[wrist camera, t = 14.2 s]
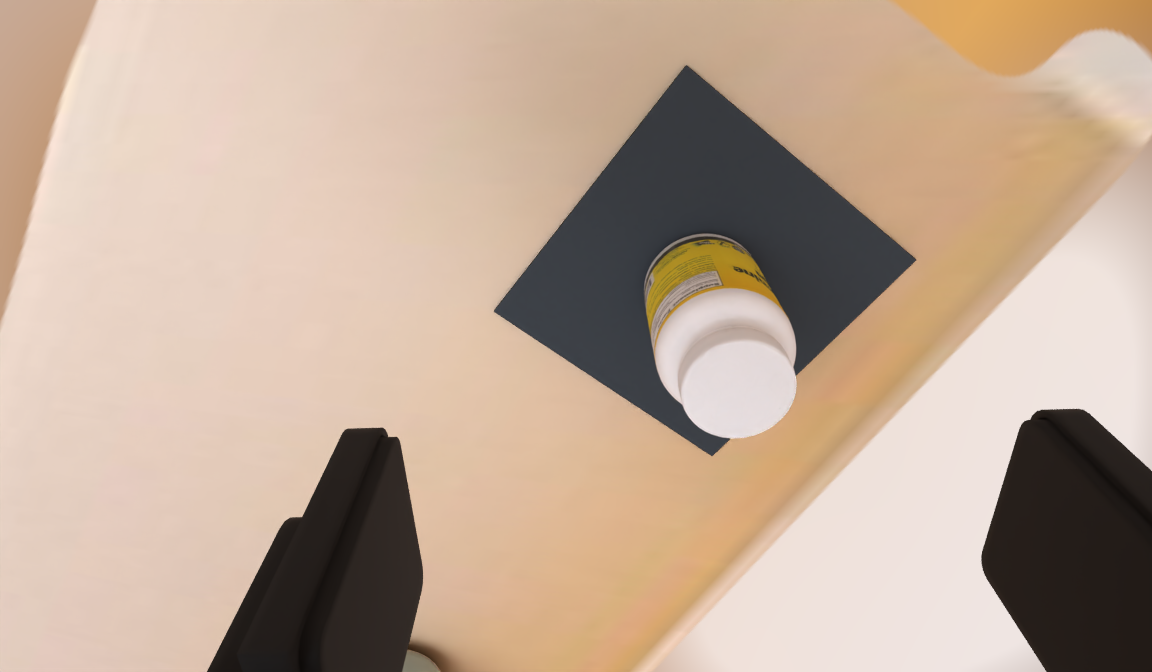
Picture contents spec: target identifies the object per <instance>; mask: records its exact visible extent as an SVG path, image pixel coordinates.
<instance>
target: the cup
mask: <svg viewBox="0 0 1152 672" xmlns="http://www.w3.org/2000/svg"><path fill="white" fill-rule="evenodd" d="M402 672H441V671H440V669H439V668H438V666H437V665H436V664H435V663H434V662H433V661H432V660H431V659H430V658H428V657H427V656H425V655H423V654H421V653H418V652H415V651H412V650H408V649H407V654H406V658H405V662H404V666H403V670H402Z"/></svg>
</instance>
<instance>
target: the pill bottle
mask: <svg viewBox="0 0 1152 672" xmlns="http://www.w3.org/2000/svg"><path fill="white" fill-rule="evenodd" d="M644 300H645V307H646V313H647V318H648V324H649V330H650V336H651V341H652V347H653V352H654V358H655V363H656V367H657V371H658V374H659V376H660V379H661V381H662V383H663V385H664V386H665V388H666V389H667V391H668V392H669V393H670V394H671V395H672V396H673V397H674V398H675V399H676V400H677V401H678V402H680V403H681V404H682V405H683V407H684V410H685V412H686V413H687V415H688V417H689V418H690V419H691V420H692V422H693V423H694V424H695V425H697V426H698V427H699V428H701V429H702V430H704V431H705V432H707V433H710V434H712V435H715V436H719V437H723V438H745V437H750V436H754V435H757V434H759V433H762V432H764V431H766V430H768V429H769V428H771V427H773V426H774V425H775V424H777V423H778V422H779V421H780V420H781V419H782V418H783V417H784V416H785V414H786V413H787V412H788V410H789V409H790V407H791V405H792V403H793V400H794V398H795V394H796V386H797V382H796V375H795V371H794V368H793V366H794V363H795V358H796V341H795V335H794V332H793V329H792V326H791V323H790V321H789V318H788V317H787V315H786V314H785V312H784V310H783V309H782V307H781V305H780V304H779V302H778V300H777V298H776V297H775V295H774V293H773V292H772V290H771V288H770V286H769V285H768V283H767V281H766V279H765V278H764V276H763V274H762V272H761V270H760V268H759V267H758V265H757V263H756V262H755V260H754V259H753V257H752V256H751V255H750V253H749V252H748V251H747V250H746V249H745V248H744V247H743V246H741V245H740V244H739V243H737V242H735V241H734V240H732V239H730V238H727V237H724V236H721V235H716V234H696V235H691V236H688V237H684V238H682V239H679V240H677V241H675V242H673V243H672V244H670V245H669V246H667V247H666V248H665V249H664V250H662V251H661V252H660V253H659V255H658V256H657V257H656V258H655V259H654V261H653V262H652V264H651V266H650V267H649V270H648V272H647V275H646V279H645V284H644Z"/></svg>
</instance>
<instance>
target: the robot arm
mask: <svg viewBox="0 0 1152 672" xmlns="http://www.w3.org/2000/svg"><path fill="white" fill-rule="evenodd" d="M982 567H983V571H984V574H985V576H986V578H987V580H988V581H989V583H990V584H991V586H992V588H993V589H994V591H995V592H996V594H997V595H998V597H999V598H1000V600H1001V601H1002V603H1003V605H1004V606H1005V608H1006V609H1007V611H1008V612H1009V614H1010V615H1011V617H1012V619H1013V620H1014V622H1015V623H1016V625H1017V626H1018V628H1019V629H1020V631H1021V632H1022V634H1023V636H1024V637H1025V639H1026V640H1027V642H1028V643H1029V645H1030V647H1031V648H1032V650H1033V651H1034V653H1035V654H1036V656H1037V657H1038V659H1039V660H1040V662H1041V663H1042V665H1043V667H1044V668H1045V670H1046V671H1047V672H1152V471H1151V470H1150V469H1149V468H1148V467H1147V466H1145V464H1143V463H1142V462H1141V461H1140V460H1139V459H1138V458H1137V457H1136V456H1135V455H1133V453H1131V452H1130V451H1129V450H1128V449H1127V448H1126V447H1125V446H1124V445H1123V444H1122V443H1121V442H1120V441H1118V440H1117V439H1116V438H1115V437H1114V436H1113V435H1112V434H1111V433H1110V432H1108V431H1107V430H1106V429H1105V428H1104V427H1103V426H1102V425H1101V424H1100V423H1099V422H1098V421H1097V420H1096V419H1095V418H1093V417H1092V416H1091V415H1090V414H1089V413H1087V412H1086V411H1084V410H1081V409H1059V410H1058V409H1057V410H1040V411H1037V412H1036V413H1035V414H1034V415H1033V416H1032V417H1031V420H1027V421H1024V422H1023V424H1022V425H1021V427H1020V429H1019V432H1018V436H1017V439H1016V442H1015V445H1014V449H1013V452H1012V456H1011V459H1010V462H1009V465H1008V468H1007V472H1006V475H1005V478H1004V482H1003V485H1002V488H1001V491H1000V495H999V498H998V502H997V505H996V508H995V512H994V515H993V518H992V521H991V524H990V528H989V531H988V534H987V538H986V541H985V545H984V547H983V551H982ZM422 584H423V567H422V561H421V555H420V550H419V544H418V539H417V533H416V528H415V522H414V516H413V511H412V505H411V500H410V494H409V489H408V483H407V478H406V472H405V466H404V461H403V455H402V450H401V445H400V441H399V439H398V438H397V437H388V435H387V432H386V430H385V429H384V428H357V429H346V430H345V431H344V432H343V433H342V435H341V437H340V439H339V442H338V444H337V446H336V448H335V450H334V452H333V454H332V456H331V458H330V460H329V462H328V465H327V467H326V469H325V471H324V473H323V475H322V477H321V479H320V481H319V483H318V485H317V487H316V490H315V492H314V494H313V496H312V498H311V500H310V502H309V504H308V506H307V508H306V510H305V513H304V515H303V517H293V518H289V519H288V520H286V521H285V522H284V523H283V525H282V526H281V528H280V529H279V531H278V533H277V535H276V537H275V539H274V541H273V543H272V545H271V547H270V549H269V551H268V553H267V555H266V557H265V559H264V561H263V563H262V565H261V567H260V569H259V570H258V572H257V574H256V576H255V578H254V580H253V582H252V584H251V586H250V588H249V590H248V592H247V594H246V596H245V598H244V600H243V602H242V604H241V606H240V608H239V610H238V612H237V614H236V616H235V618H234V620H233V622H232V624H231V626H230V628H229V630H228V631H227V633H226V635H225V637H224V639H223V641H222V643H221V645H220V647H219V649H218V651H217V653H216V655H215V657H214V659H213V661H212V663H211V665H210V667H209V669H208V671H207V672H402V670H403V666H404V662H405V658H406V654H407V649H408V645H409V641H410V637H411V633H412V629H413V625H414V620H415V616H416V612H417V608H418V604H419V600H420V595H421V591H422Z"/></svg>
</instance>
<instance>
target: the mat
mask: <svg viewBox="0 0 1152 672" xmlns="http://www.w3.org/2000/svg"><path fill="white" fill-rule="evenodd" d="M696 234H716V235H721V236H724V237H727V238H730V239H732V240H734V241H735V242H737V243H739V244H740V245H741V246H743V247H744V248H745V249H746V250H747V251H748V252H749V253H750V255H751V256H752V257H753V259H754V260H755V262H756V263H757V265H758V267H759V268H760V270H761V272H762V274H763V276H764V278H765V279H766V281H767V283H768V285H769V286H770V288H771V290H772V292H773V293H774V295H775V297H776V298H777V300H778V302H779V304H780V305H781V307H782V309H783V310H784V312H785V314H786V315H787V317H788V318H789V321H790V323H791V326H792V329H793V332H794V335H795V341H796V358H795V363H794V366H793V368H794V371H795V375H797V374H798V373H799V372H800V371H801V370H802V369H803V368H804V367H806V366H807V365H808V364H809V363H810V362H811V361H812V360H813V359H814V358H815V357H816V356H817V355H818V354H819V353H820V352H821V351H822V350H823V349H824V348H825V347H826V346H827V345H828V344H829V343H830V342H832V341H833V340H834V339H835V338H836V337H837V336H838V335H839V334H840V333H841V332H842V331H843V330H844V329H845V328H846V327H847V326H848V325H849V324H850V323H851V322H852V321H853V320H854V319H855V318H856V317H858V316H859V315H860V314H861V313H862V312H863V311H864V310H865V309H866V308H867V307H868V306H869V305H870V304H871V303H872V302H873V301H874V300H875V299H876V298H877V297H878V296H879V295H880V294H881V293H883V292H884V291H885V290H886V289H887V288H888V287H889V286H890V285H891V284H892V283H893V282H894V281H895V280H896V279H897V278H898V277H899V276H900V275H901V274H902V273H903V272H904V271H905V270H906V269H907V268H909V267H910V266H911V265H912V264H913V263H914V262H915V261H916V259H915V258H914V257H913V256H911V255H910V254H909V253H908V252H907V251H906V250H904V249H903V248H902V247H901V246H900V245H898V244H897V243H896V242H895V241H894V240H893V239H891V238H890V237H889V236H888V235H887V234H885V233H884V232H883V231H882V230H881V229H879V228H878V227H877V226H876V225H875V224H874V223H872V222H871V221H870V220H869V219H868V218H866V217H865V216H864V215H863V214H862V213H861V212H859V211H858V210H857V209H856V208H855V207H853V206H852V205H851V204H850V203H849V202H848V201H846V200H845V199H844V198H843V197H842V196H840V195H839V194H838V193H837V192H836V191H835V190H833V189H832V188H831V187H830V186H829V185H827V184H826V183H825V182H824V181H823V180H822V179H820V178H819V177H818V176H817V175H816V174H814V173H813V172H812V171H811V170H810V169H809V168H807V167H806V166H805V165H804V164H803V163H801V162H800V161H799V160H798V159H797V158H796V157H794V156H793V155H792V154H791V153H790V152H788V151H787V150H786V149H785V148H784V147H783V146H781V145H780V144H779V143H778V142H777V141H775V140H774V139H773V138H772V137H771V136H770V135H768V134H767V133H766V132H765V131H764V130H762V129H761V128H760V127H759V126H758V125H757V124H755V123H754V122H753V121H752V120H751V119H749V118H748V117H747V116H746V115H745V114H744V113H742V112H741V111H740V110H739V109H738V108H736V107H735V106H734V105H733V104H732V103H731V102H729V101H728V100H727V99H726V98H725V97H723V96H722V95H721V94H720V93H719V92H718V91H716V90H715V89H714V88H713V87H712V86H710V85H709V84H708V83H707V82H706V81H705V80H703V79H702V78H701V77H700V76H699V75H697V74H696V73H695V72H694V71H693V70H692V69H690V68H689V67H688V66H687V65H686V66H685V67H684V69H683V70H682V71H681V72H680V74H679V75H678V76H677V77H676V79H675V80H674V81H673V83H672V84H671V85H670V86H669V88H668V89H667V90H666V92H665V93H664V94H663V95H662V97H661V98H660V99H659V100H658V102H657V103H656V104H655V106H654V107H653V108H652V109H651V111H650V112H649V113H648V115H647V116H646V117H645V118H644V120H643V121H642V122H641V123H640V125H639V126H638V127H637V129H636V130H635V131H634V132H633V134H632V135H631V136H630V138H629V139H628V140H627V141H626V143H625V144H624V145H623V146H622V148H621V149H620V150H619V152H618V153H617V154H616V155H615V157H614V158H613V159H612V161H611V162H610V163H609V164H608V166H607V167H606V168H605V169H604V171H603V172H602V173H601V175H600V176H599V177H598V178H597V180H596V181H595V182H594V184H593V185H592V186H591V187H590V189H589V190H588V191H587V192H586V194H585V195H584V196H583V198H582V199H581V200H580V201H579V203H578V204H577V205H576V206H575V208H574V209H573V210H572V212H571V213H570V214H569V215H568V217H567V218H566V219H565V221H564V222H563V223H562V224H561V226H560V227H559V228H558V229H557V231H556V232H555V233H554V235H553V236H552V237H551V238H550V240H549V241H548V242H547V244H546V245H545V246H544V247H543V249H542V250H541V251H540V252H539V254H538V255H537V256H536V258H535V259H534V260H533V261H532V263H531V264H530V265H529V267H528V268H527V269H526V270H525V272H524V273H523V274H522V275H521V277H520V278H519V279H518V281H517V282H516V283H515V284H514V286H513V287H512V288H511V290H510V291H509V292H508V293H507V295H506V296H505V297H504V298H503V300H502V301H501V302H500V304H499V305H498V306H497V307H496V309H495V310H494V312H495V313H497V314H498V315H500V316H501V317H503V318H504V319H506V320H507V321H509V322H510V323H512V324H513V325H515V326H516V327H518V328H519V329H521V330H522V331H524V332H525V333H527V334H528V335H530V336H531V337H533V338H534V339H536V340H537V341H539V342H540V343H542V344H544V345H545V346H547V347H548V348H550V349H551V350H553V351H554V352H556V353H557V354H559V355H560V356H562V357H563V358H565V359H566V360H568V361H569V362H571V363H572V364H574V365H575V366H577V367H578V368H580V369H581V370H583V371H584V372H586V373H587V374H589V375H590V376H592V377H593V378H595V379H596V380H598V381H599V382H601V383H602V384H604V385H605V386H607V387H608V388H610V389H611V390H613V391H614V392H616V393H617V394H619V395H620V396H622V397H623V398H625V399H626V400H628V401H630V402H631V403H633V404H634V405H636V406H637V407H639V408H640V409H642V410H643V411H645V412H646V413H648V414H649V415H651V416H652V417H654V418H655V419H657V420H658V421H660V422H661V423H663V424H664V425H666V426H667V427H669V428H670V429H672V430H673V431H675V432H676V433H678V434H679V435H681V436H682V437H684V438H685V439H687V440H688V441H690V442H691V443H693V444H694V445H696V446H697V447H699V448H700V449H702V450H703V451H705V452H706V453H708V454H709V455H711V456H713V455H714V454H715V453H716V452H717V451H718V450H719V449H720V448H721V447H722V446H723V445H724V444H725V443H726V442H727V441H728V440H730V439H731V438H723V437H719V436H715V435H712V434H710V433H707V432H705V431H704V430H702V429H701V428H699V427H698V426H697V425H695V424H694V423H693V422H692V420H691V419H690V418H689V417H688V415H687V413H686V412H685V410H684V407H683V405H682V404H681V403H680V402H678V401H677V400H676V399H675V398H674V397H673V396H672V395H671V394H670V393H669V392H668V391H667V389H666V388H665V386H664V385H663V383H662V381H661V379H660V376H659V374H658V371H657V367H656V363H655V358H654V352H653V347H652V341H651V336H650V330H649V324H648V318H647V313H646V307H645V300H644V284H645V279H646V275H647V272H648V270H649V267H650V266H651V264H652V262H653V261H654V259H655V258H656V257H657V256H658V255H659V253H660V252H661V251H662V250H664V249H665V248H666V247H667V246H669V245H670V244H672V243H673V242H675V241H677V240H679V239H682V238H684V237H688V236H691V235H696Z"/></svg>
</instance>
